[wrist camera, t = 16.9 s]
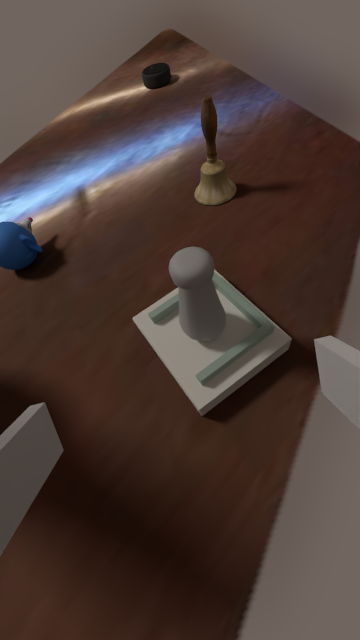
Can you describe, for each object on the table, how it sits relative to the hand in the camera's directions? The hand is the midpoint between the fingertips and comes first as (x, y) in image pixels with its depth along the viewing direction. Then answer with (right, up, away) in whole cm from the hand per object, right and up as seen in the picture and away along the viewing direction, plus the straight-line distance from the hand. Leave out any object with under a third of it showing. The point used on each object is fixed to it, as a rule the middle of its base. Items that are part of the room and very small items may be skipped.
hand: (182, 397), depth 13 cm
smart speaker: (-7, +80, +77) cm, 111 cm away
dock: (+4, +1, +26) cm, 26 cm away
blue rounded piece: (-30, +17, +43) cm, 55 cm away
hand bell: (+7, +29, +43) cm, 52 cm away
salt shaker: (+3, +2, +23) cm, 24 cm away
